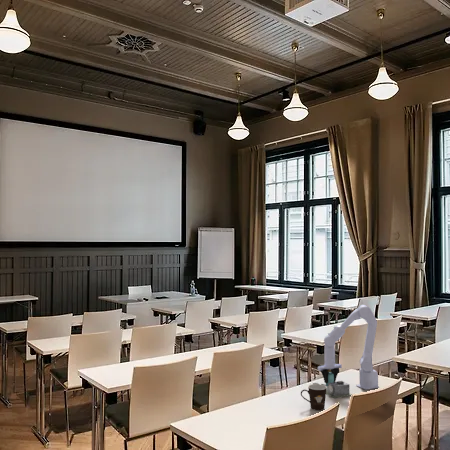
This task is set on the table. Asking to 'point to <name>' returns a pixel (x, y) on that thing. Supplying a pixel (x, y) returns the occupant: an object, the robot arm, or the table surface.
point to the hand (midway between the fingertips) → (329, 382)
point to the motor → (337, 389)
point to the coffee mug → (316, 396)
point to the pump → (330, 378)
